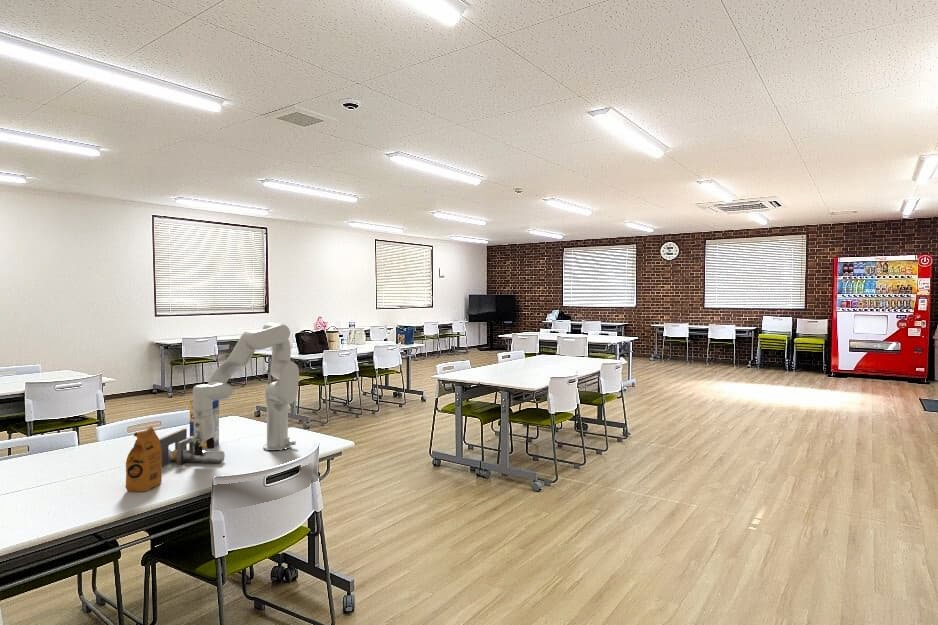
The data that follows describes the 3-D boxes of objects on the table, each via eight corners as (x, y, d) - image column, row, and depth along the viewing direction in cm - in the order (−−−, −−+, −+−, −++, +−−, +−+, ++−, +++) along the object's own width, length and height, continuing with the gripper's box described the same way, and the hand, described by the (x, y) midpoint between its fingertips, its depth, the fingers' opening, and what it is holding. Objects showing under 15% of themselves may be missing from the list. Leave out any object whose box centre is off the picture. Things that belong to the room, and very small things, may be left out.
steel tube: (224, 461, 246) (224, 449, 246) (218, 464, 241) (218, 453, 241) (171, 459, 247) (171, 448, 247) (164, 462, 242) (164, 451, 242)
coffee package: (120, 492, 206) (120, 433, 205) (141, 481, 218) (140, 425, 218) (147, 493, 206) (147, 433, 205) (166, 481, 218) (166, 426, 217)
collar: (194, 458, 250) (195, 436, 249) (180, 465, 239) (180, 442, 238) (191, 457, 250) (191, 436, 249) (177, 465, 239) (177, 442, 238)
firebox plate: (186, 454, 255) (186, 428, 254) (159, 468, 234) (159, 440, 234) (183, 454, 255) (183, 428, 254) (155, 468, 234) (155, 439, 234)
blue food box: (211, 447, 267) (211, 401, 266) (189, 446, 267) (189, 401, 267) (219, 443, 273) (219, 399, 273) (197, 443, 274) (197, 398, 273)
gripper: (201, 418, 234) (202, 458, 235) (221, 408, 252) (222, 446, 253) (183, 418, 235) (185, 458, 236) (205, 408, 252) (206, 445, 253)
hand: (204, 451), depth 244 cm, fingers open, 9 cm apart
